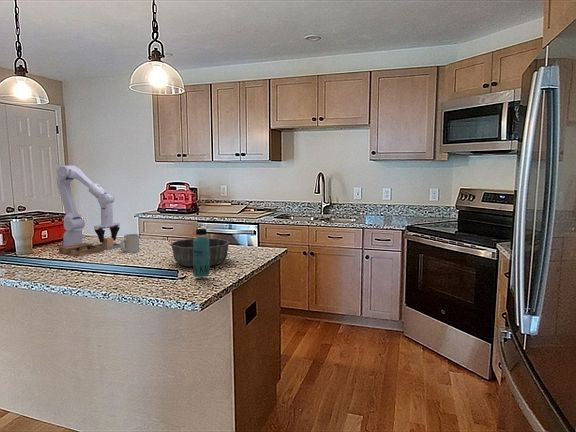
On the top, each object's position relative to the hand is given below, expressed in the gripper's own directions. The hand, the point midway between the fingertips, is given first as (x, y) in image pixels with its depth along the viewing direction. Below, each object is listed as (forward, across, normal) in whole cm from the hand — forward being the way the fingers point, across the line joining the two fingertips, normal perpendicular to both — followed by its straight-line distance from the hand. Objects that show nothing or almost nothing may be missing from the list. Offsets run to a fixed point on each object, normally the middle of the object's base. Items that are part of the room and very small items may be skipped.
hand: (107, 241), depth 216 cm
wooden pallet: (+4, -15, +1) cm, 16 cm away
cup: (+4, -2, -18) cm, 19 cm away
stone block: (+3, 0, 0) cm, 3 cm away
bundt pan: (+4, -3, -64) cm, 64 cm away
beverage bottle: (+4, -24, -81) cm, 85 cm away
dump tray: (+4, 0, 0) cm, 4 cm away
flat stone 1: (+3, -18, +5) cm, 19 cm away
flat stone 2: (+3, -12, +5) cm, 13 cm away
